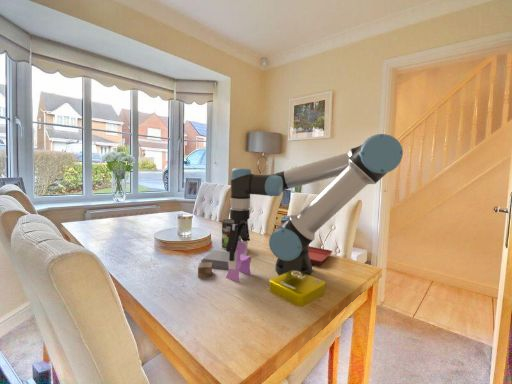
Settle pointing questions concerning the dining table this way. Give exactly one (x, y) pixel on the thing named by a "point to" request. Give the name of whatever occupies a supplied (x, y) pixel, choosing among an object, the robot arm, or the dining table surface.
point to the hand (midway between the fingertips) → (238, 262)
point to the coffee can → (226, 232)
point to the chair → (239, 263)
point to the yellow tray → (297, 287)
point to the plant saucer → (318, 255)
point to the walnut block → (205, 269)
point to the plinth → (217, 259)
